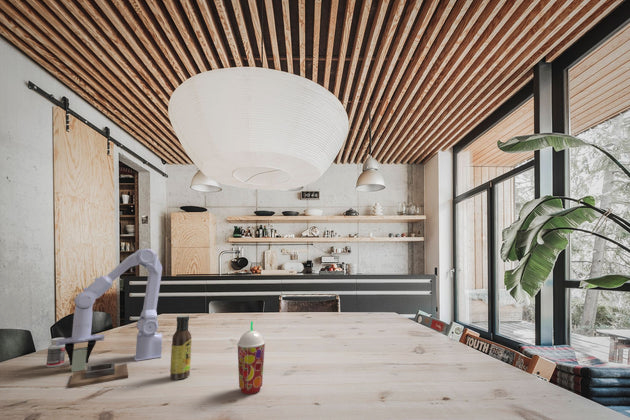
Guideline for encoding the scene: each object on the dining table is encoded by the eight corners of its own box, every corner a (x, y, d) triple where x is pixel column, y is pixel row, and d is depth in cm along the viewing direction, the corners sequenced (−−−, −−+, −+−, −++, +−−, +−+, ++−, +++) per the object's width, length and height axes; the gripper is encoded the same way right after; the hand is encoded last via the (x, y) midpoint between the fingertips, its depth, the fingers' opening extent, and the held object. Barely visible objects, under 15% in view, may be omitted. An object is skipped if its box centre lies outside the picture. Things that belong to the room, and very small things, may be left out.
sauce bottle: (188, 379, 108) (191, 317, 111) (168, 381, 106) (171, 318, 109) (191, 373, 114) (193, 314, 117) (172, 374, 113) (174, 315, 115)
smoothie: (238, 385, 102) (240, 319, 105) (265, 384, 103) (266, 318, 106) (234, 396, 94) (235, 324, 97) (263, 395, 95) (264, 323, 97)
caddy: (126, 366, 122) (127, 358, 122) (128, 377, 110) (128, 368, 110) (73, 375, 114) (74, 365, 114) (69, 388, 102) (69, 378, 102)
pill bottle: (63, 366, 123) (66, 338, 125) (45, 368, 120) (48, 341, 122) (64, 362, 128) (67, 336, 129) (47, 365, 125) (49, 338, 126)
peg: (85, 366, 122) (87, 347, 123) (84, 369, 118) (86, 349, 119) (72, 368, 120) (74, 348, 121) (71, 371, 116) (73, 351, 117)
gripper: (56, 329, 114) (52, 370, 112) (105, 324, 122) (102, 362, 120) (59, 325, 120) (55, 364, 118) (105, 321, 128) (102, 358, 126)
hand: (79, 363), depth 119 cm, fingers closed on peg, 4 cm apart
